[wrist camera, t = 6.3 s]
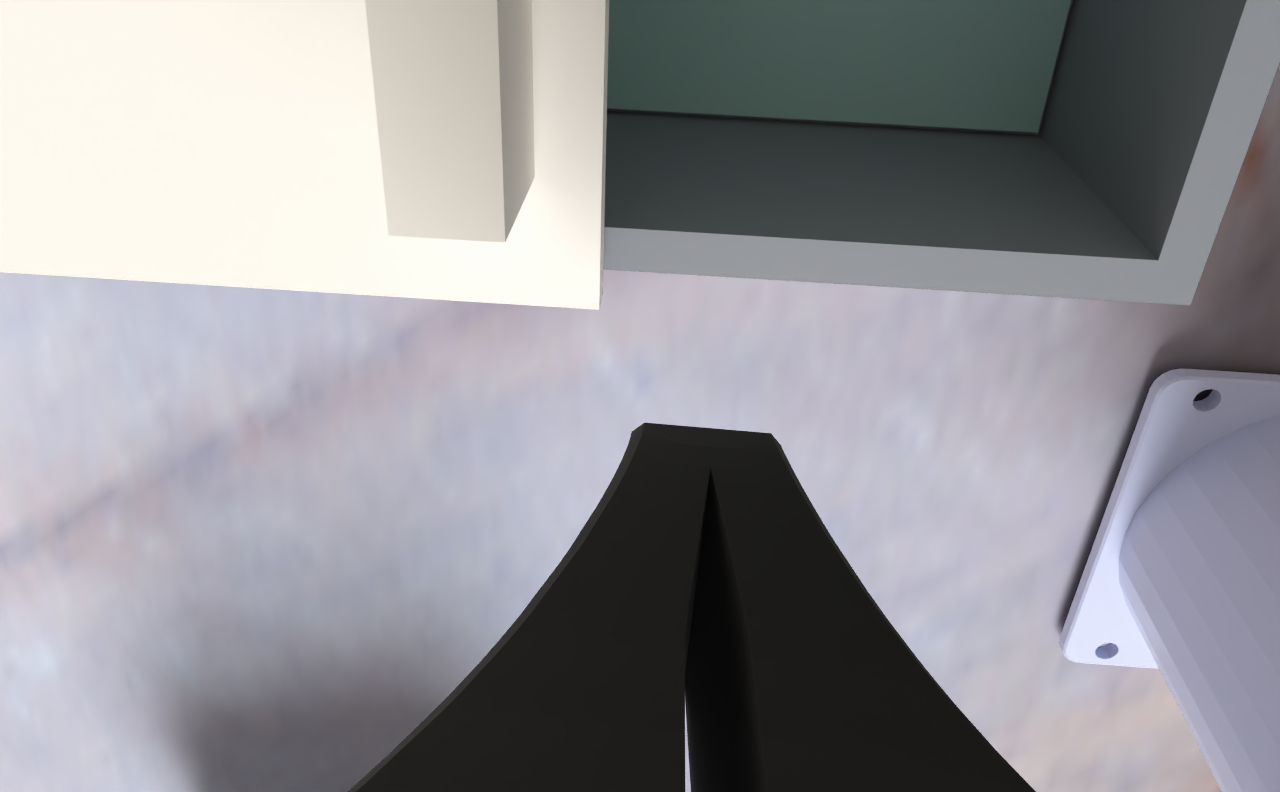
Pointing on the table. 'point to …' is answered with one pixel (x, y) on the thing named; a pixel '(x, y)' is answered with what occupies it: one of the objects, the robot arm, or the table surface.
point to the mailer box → (933, 140)
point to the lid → (309, 145)
